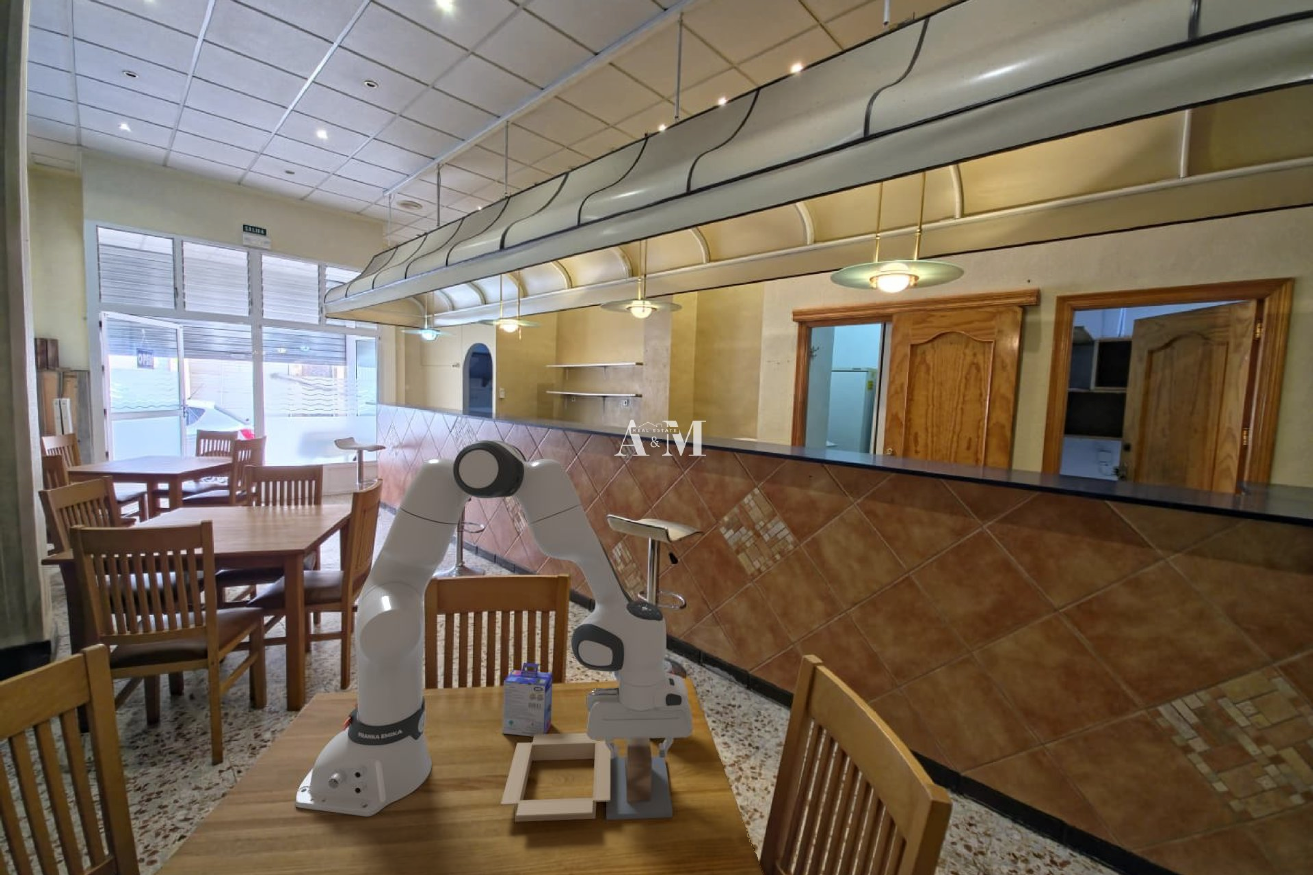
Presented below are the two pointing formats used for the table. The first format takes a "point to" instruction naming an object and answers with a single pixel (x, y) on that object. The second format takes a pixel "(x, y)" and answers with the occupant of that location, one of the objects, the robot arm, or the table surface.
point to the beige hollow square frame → (557, 750)
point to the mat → (637, 810)
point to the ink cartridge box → (527, 702)
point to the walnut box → (638, 770)
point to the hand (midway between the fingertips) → (638, 755)
